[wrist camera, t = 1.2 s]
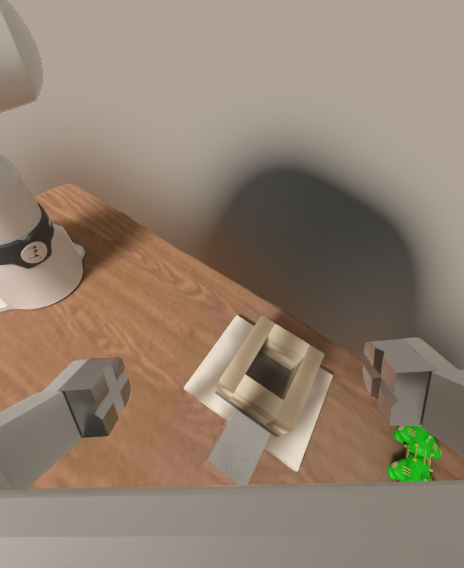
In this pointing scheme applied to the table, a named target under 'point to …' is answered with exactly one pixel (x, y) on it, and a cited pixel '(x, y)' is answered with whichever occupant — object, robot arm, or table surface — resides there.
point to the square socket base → (265, 384)
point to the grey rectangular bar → (236, 450)
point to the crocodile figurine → (414, 454)
